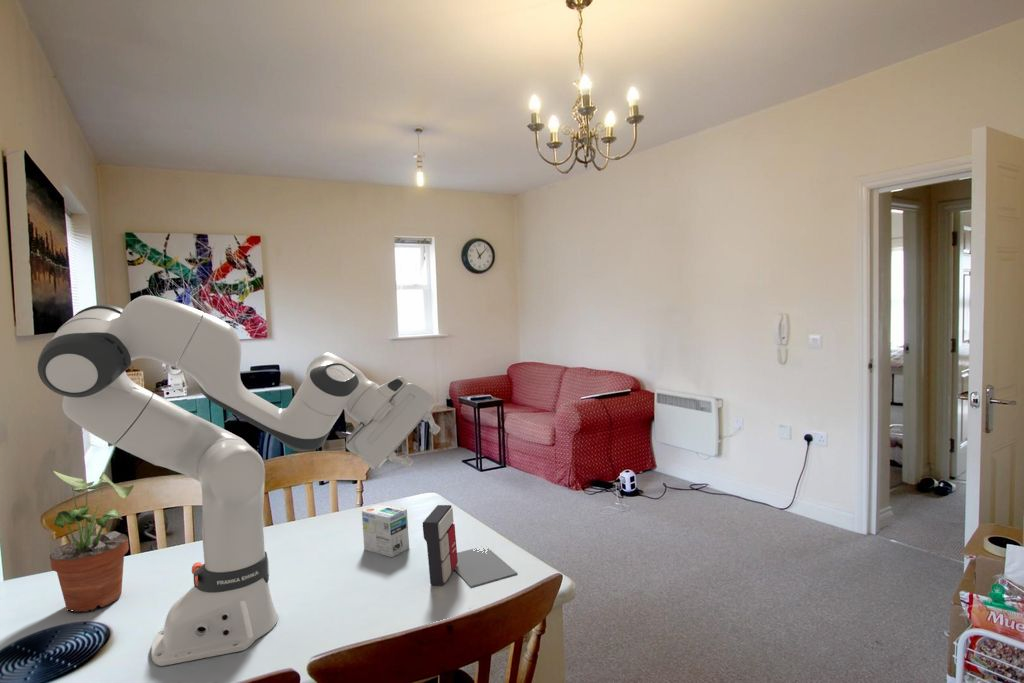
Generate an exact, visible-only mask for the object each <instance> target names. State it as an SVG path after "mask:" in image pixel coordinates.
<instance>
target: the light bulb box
mask: <svg viewBox="0 0 1024 683" xmlns="http://www.w3.org/2000/svg"><path fill="white" fill-rule="evenodd" d="M361 519H362V520H361V521H362V533H363V534H362V535H363V537H362V538H363V549H364V550H365V551H368V552H372V553H376V554H379V555H383V556H386V557H389V558H394V557H395V556H397V555H399V554H401V553H402V552H405V551H406V550H408V549H410V538H409V527H408V526H409V523H408V509H406V508H401V507H400V508H399V507H395V506H394V507H393V506H392V505H391V506H390V505H385V504H381V503H378V504H375V505H373V506H371V507H369V508H366V509H363V510H362V511H361Z"/></svg>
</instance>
